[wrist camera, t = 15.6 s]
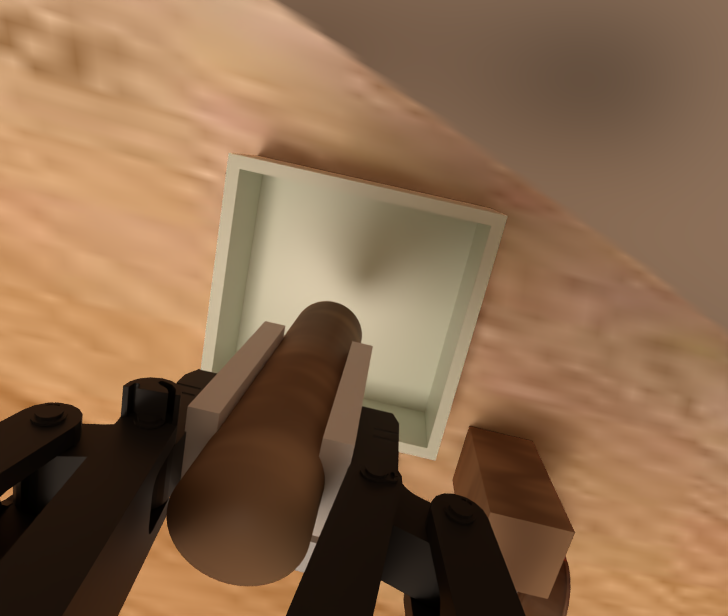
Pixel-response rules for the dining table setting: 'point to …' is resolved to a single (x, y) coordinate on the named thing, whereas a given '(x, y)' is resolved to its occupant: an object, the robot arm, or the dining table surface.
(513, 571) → the wooden block
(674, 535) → the dining table surface
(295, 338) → the dowel
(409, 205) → the tray
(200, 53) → the dining table surface
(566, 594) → the tin
